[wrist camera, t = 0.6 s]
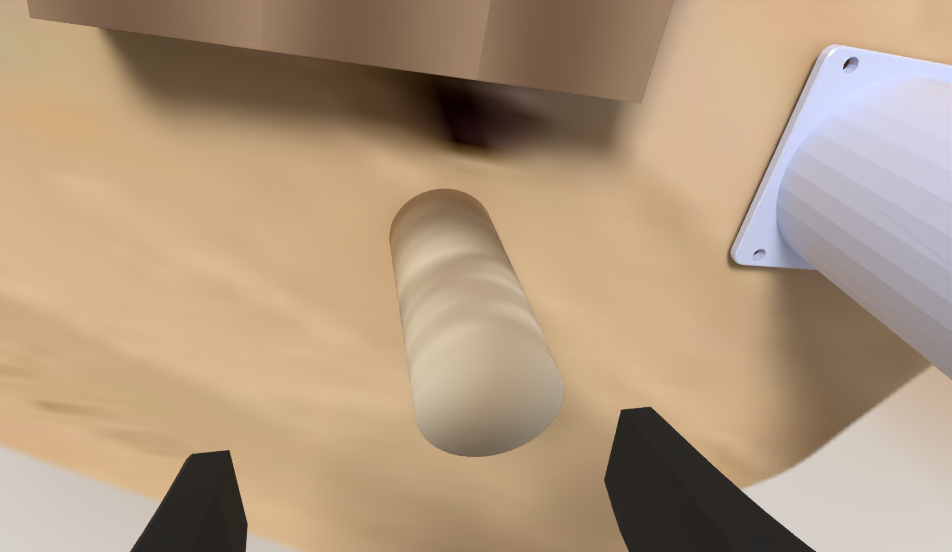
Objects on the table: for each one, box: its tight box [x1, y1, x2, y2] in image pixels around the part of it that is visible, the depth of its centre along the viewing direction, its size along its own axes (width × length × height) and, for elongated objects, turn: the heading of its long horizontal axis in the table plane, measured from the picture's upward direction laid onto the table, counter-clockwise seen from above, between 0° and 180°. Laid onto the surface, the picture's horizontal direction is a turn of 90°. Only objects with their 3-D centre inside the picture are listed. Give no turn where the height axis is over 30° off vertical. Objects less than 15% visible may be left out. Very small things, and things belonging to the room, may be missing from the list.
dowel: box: [390, 189, 564, 457], centre depth 17 cm, size 4×4×8 cm
